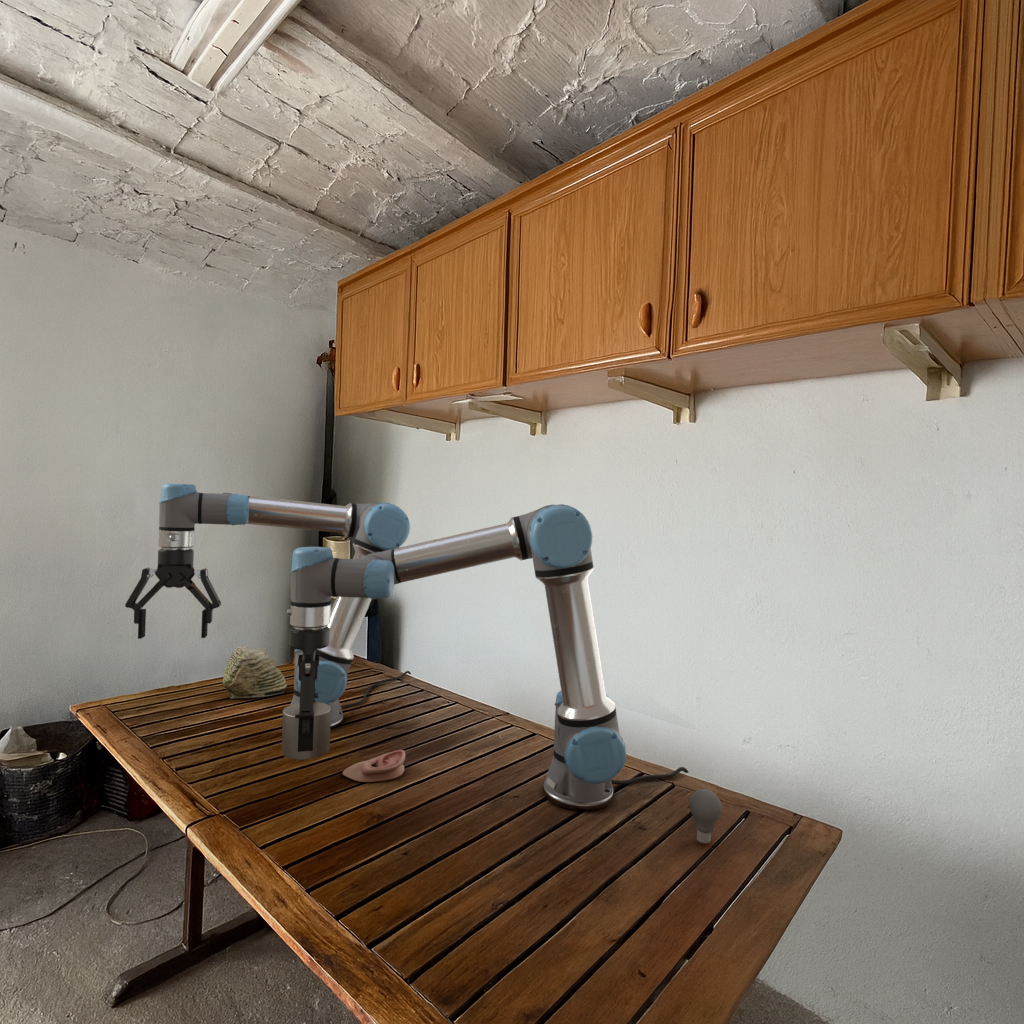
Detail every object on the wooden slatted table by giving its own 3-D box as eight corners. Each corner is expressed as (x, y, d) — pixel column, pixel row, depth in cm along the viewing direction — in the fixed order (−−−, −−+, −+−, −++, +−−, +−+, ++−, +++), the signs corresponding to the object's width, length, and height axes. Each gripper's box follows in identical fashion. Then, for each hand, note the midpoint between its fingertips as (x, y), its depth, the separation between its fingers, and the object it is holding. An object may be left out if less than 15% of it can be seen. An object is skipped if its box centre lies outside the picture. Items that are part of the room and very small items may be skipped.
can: (298, 763, 118) (300, 720, 117) (272, 750, 123) (273, 709, 123) (339, 750, 125) (340, 709, 124) (312, 738, 130) (313, 698, 130)
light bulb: (682, 833, 125) (685, 783, 125) (712, 833, 125) (714, 783, 125) (694, 850, 119) (696, 797, 119) (725, 850, 119) (727, 798, 119)
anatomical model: (336, 761, 142) (359, 742, 153) (336, 778, 142) (358, 758, 153) (392, 768, 139) (411, 749, 151) (391, 786, 139) (410, 765, 151)
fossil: (218, 695, 195) (220, 647, 195) (278, 685, 208) (279, 640, 207) (228, 703, 189) (230, 653, 188) (289, 692, 201) (290, 645, 201)
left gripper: (111, 548, 144) (108, 641, 144) (229, 550, 150) (226, 640, 150) (123, 545, 151) (120, 634, 152) (235, 548, 157) (232, 633, 158)
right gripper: (292, 616, 133) (289, 722, 133) (285, 639, 112) (281, 765, 112) (329, 615, 135) (326, 720, 135) (329, 638, 114) (325, 762, 114)
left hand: (173, 637), depth 151 cm, fingers open, 13 cm apart
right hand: (306, 740), depth 124 cm, fingers closed on can, 9 cm apart
